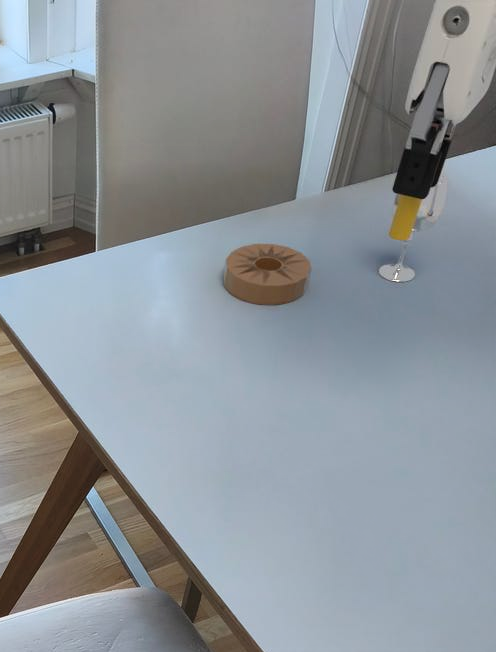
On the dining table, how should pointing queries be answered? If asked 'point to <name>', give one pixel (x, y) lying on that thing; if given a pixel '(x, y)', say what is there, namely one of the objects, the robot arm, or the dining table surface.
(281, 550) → the dining table surface
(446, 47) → the robot arm
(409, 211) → the pencil
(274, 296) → the brown sunburst ring
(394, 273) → the wineglass
